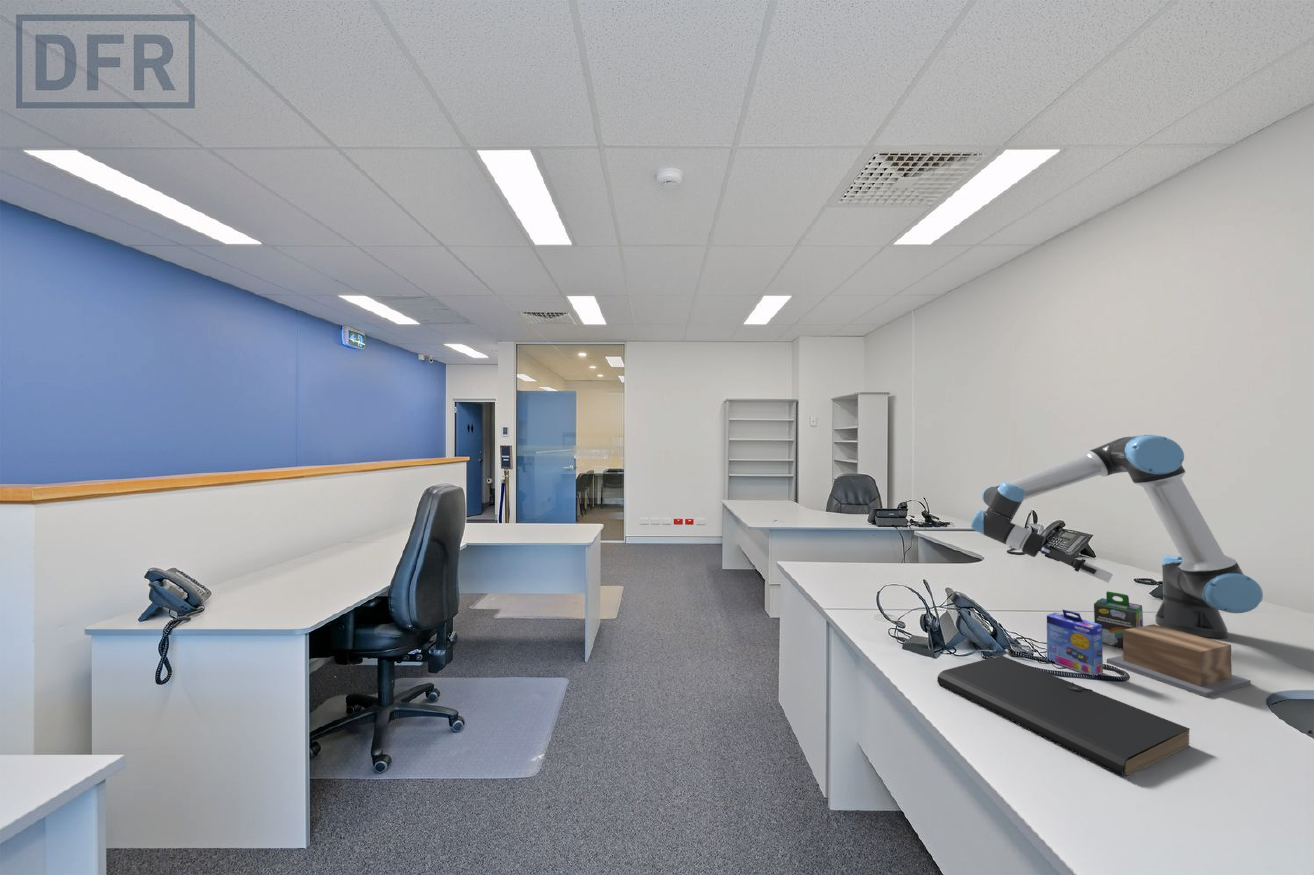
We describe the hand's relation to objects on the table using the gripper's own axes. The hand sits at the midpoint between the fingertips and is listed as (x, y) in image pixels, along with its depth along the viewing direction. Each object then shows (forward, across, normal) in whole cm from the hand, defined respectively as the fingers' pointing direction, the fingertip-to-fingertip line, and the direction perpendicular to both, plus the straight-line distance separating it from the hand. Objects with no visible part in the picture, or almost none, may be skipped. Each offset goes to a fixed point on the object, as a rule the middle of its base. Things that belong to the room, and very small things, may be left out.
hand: (1110, 578), depth 137 cm
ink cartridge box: (+2, +28, -24) cm, 37 cm away
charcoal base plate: (+18, +13, -15) cm, 27 cm away
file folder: (+1, +60, -30) cm, 67 cm away
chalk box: (+8, -2, -17) cm, 19 cm away
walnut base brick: (+18, +13, -15) cm, 27 cm away
